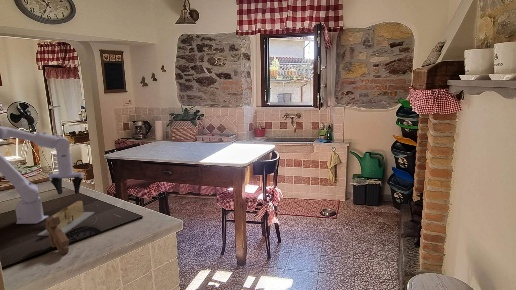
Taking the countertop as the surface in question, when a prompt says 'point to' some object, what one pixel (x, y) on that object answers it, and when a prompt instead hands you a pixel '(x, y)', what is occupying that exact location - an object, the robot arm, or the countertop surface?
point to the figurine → (57, 235)
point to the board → (70, 224)
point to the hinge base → (62, 219)
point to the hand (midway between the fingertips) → (68, 193)
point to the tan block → (74, 210)
